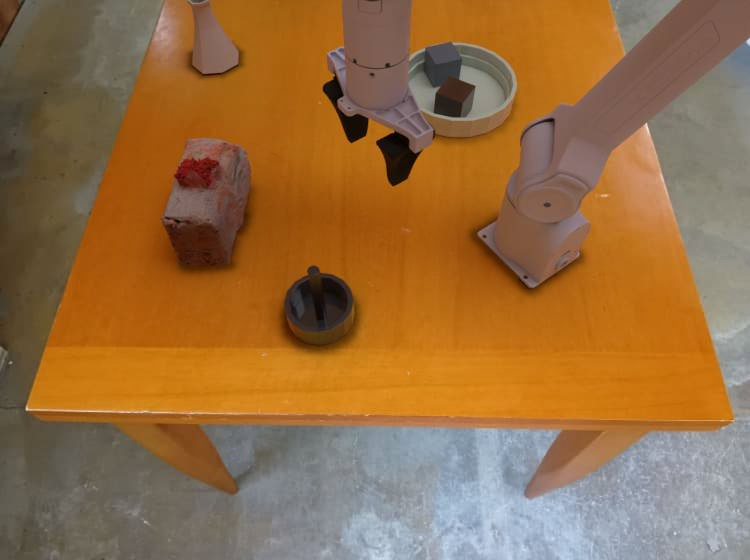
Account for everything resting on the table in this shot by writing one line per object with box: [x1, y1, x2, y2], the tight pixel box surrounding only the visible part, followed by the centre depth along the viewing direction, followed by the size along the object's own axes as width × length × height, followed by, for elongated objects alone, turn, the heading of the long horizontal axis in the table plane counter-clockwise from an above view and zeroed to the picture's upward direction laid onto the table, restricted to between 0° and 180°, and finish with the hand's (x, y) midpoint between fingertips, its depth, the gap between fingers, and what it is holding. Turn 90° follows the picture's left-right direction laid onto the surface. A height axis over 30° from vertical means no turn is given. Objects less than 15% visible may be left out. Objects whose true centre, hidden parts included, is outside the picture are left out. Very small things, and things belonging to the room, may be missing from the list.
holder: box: [283, 272, 356, 346], centre depth 61 cm, size 7×7×4 cm
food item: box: [160, 137, 252, 266], centre depth 66 cm, size 14×8×10 cm, turn 178°
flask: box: [186, 0, 240, 75], centre depth 82 cm, size 7×7×10 cm
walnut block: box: [434, 76, 476, 118], centre depth 77 cm, size 4×4×4 cm
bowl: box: [408, 42, 518, 138], centre depth 80 cm, size 16×16×4 cm
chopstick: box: [306, 265, 327, 320], centre depth 58 cm, size 1×1×9 cm
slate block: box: [424, 41, 462, 88], centre depth 81 cm, size 4×4×4 cm
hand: (377, 158), depth 61 cm, fingers open, 7 cm apart
